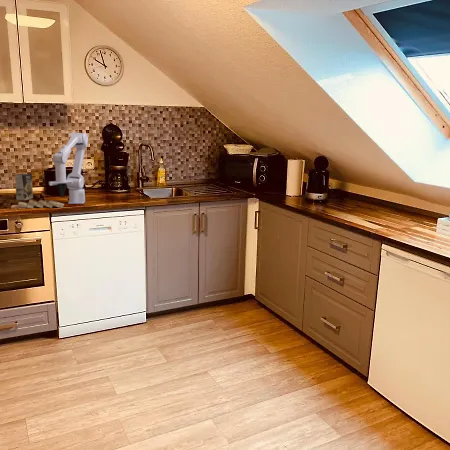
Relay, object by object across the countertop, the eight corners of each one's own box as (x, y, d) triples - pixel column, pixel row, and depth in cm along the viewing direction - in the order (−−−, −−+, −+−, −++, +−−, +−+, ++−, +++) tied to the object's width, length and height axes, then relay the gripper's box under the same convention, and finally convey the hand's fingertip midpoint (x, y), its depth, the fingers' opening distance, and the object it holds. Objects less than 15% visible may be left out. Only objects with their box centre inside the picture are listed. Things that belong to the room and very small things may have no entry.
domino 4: (64, 203, 287) (50, 200, 286) (62, 205, 282) (48, 201, 281) (63, 206, 287) (50, 202, 286) (61, 208, 282) (48, 204, 281)
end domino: (27, 205, 284) (13, 205, 282) (25, 206, 279) (11, 206, 277) (27, 207, 284) (13, 207, 282) (25, 209, 279) (11, 209, 278)
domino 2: (43, 203, 285) (29, 199, 283) (43, 205, 281) (29, 201, 278) (42, 206, 286) (29, 202, 283) (42, 207, 281) (28, 203, 278)
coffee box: (25, 200, 301) (23, 175, 297) (16, 199, 302) (14, 174, 298) (33, 198, 310) (32, 173, 306) (24, 197, 311) (23, 172, 307)
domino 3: (54, 203, 286) (40, 199, 285) (52, 205, 282) (38, 201, 280) (53, 206, 287) (40, 202, 285) (51, 207, 282) (38, 203, 280)
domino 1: (33, 203, 283) (18, 201, 280) (33, 205, 279) (18, 203, 275) (32, 206, 284) (18, 204, 280) (33, 208, 279) (18, 206, 276)
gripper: (68, 172, 288) (69, 194, 291) (45, 173, 278) (47, 196, 281) (74, 173, 284) (75, 195, 287) (51, 175, 273) (53, 198, 276)
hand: (61, 196), depth 284 cm, fingers closed
